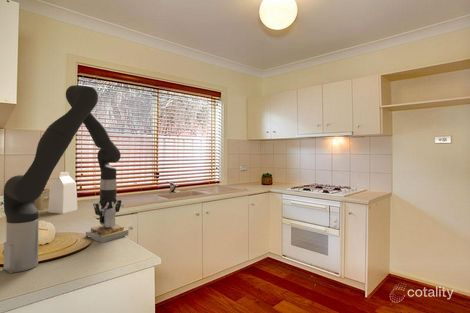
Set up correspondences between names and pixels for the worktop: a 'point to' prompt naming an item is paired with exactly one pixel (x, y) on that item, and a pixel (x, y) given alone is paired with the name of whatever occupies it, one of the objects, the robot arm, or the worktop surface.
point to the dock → (107, 237)
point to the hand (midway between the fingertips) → (107, 221)
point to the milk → (62, 194)
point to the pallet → (107, 229)
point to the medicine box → (109, 217)
